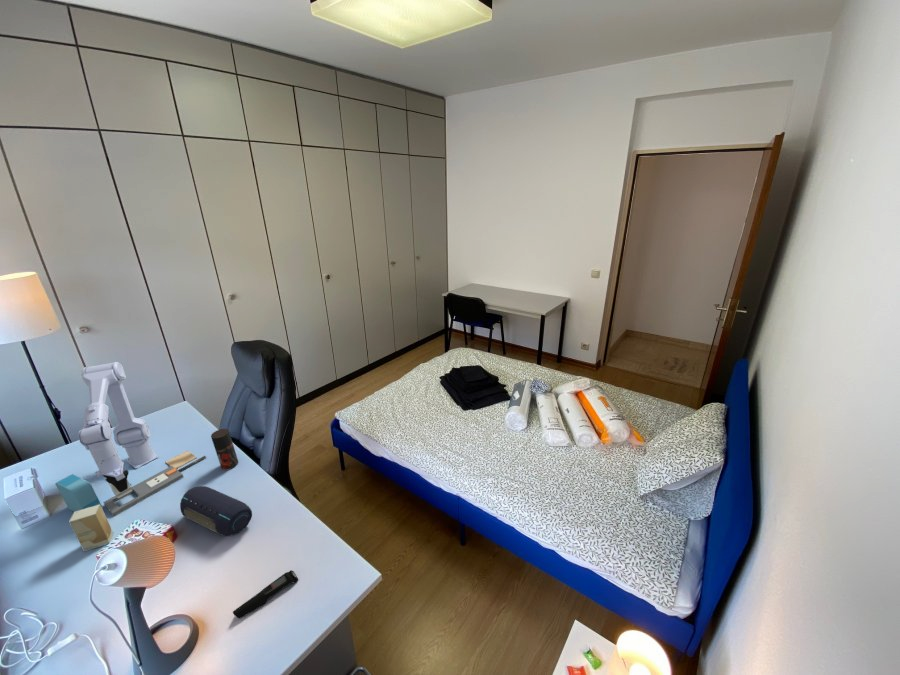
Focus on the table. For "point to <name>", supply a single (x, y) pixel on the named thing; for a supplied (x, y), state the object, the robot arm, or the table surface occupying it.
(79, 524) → the skincare box
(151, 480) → the power strip
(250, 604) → the electric trimmer
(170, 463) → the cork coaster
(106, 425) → the robot arm
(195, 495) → the portable speaker
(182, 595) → the table surface
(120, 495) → the charger plug
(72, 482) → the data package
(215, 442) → the deodorant
